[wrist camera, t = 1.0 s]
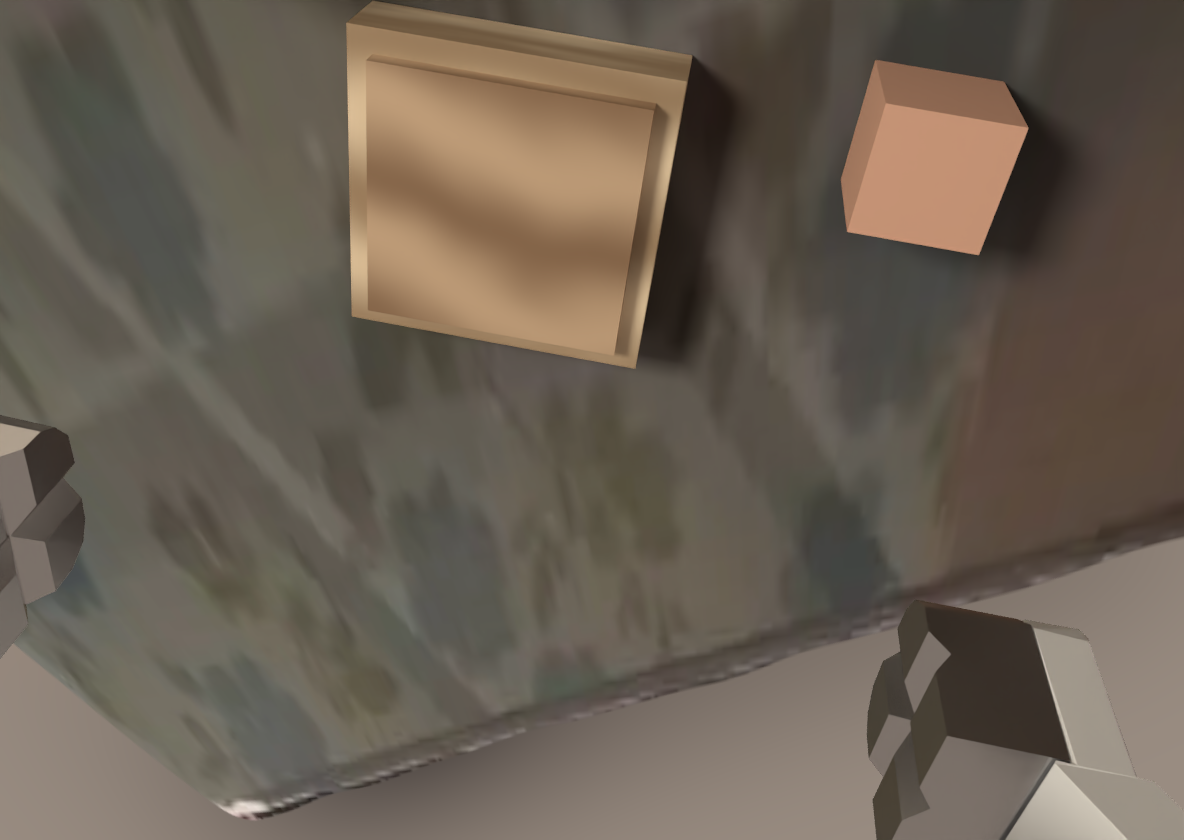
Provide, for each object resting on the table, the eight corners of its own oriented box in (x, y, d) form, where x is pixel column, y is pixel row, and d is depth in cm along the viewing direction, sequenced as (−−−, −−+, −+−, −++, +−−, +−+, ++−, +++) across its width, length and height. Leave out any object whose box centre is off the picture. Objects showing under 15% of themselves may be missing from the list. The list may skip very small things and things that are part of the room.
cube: (875, 59, 40) (885, 103, 36) (1003, 81, 40) (1028, 127, 36) (840, 178, 43) (847, 231, 39) (960, 199, 43) (978, 255, 39)
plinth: (373, 0, 42) (339, 28, 38) (692, 55, 41) (685, 88, 38) (374, 282, 49) (345, 325, 46) (642, 331, 49) (633, 378, 46)
